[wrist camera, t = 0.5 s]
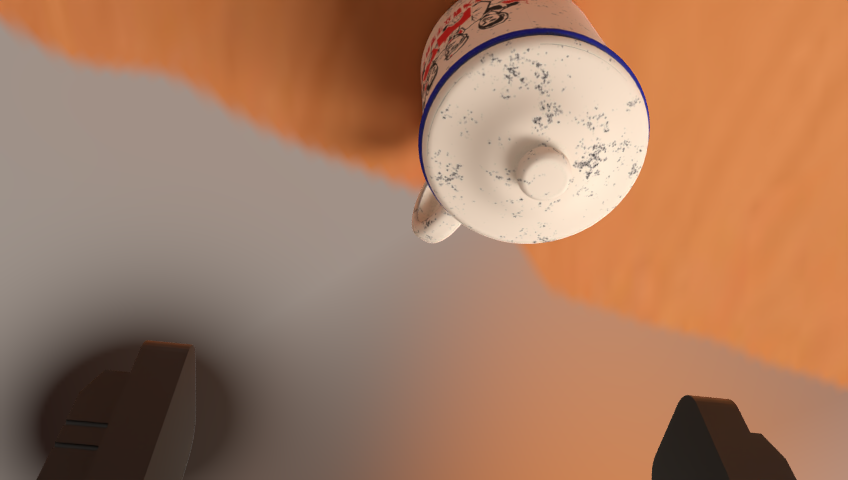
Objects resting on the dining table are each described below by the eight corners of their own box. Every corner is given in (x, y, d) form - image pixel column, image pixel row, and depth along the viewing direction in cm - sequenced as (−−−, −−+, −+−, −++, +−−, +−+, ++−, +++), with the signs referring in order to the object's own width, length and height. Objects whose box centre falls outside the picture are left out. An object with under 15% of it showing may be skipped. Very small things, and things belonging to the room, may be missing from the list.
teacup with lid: (497, -70, 35) (534, 1, 25) (642, 50, 38) (726, 156, 28) (344, 132, 40) (325, 257, 30) (484, 224, 43) (508, 365, 33)
